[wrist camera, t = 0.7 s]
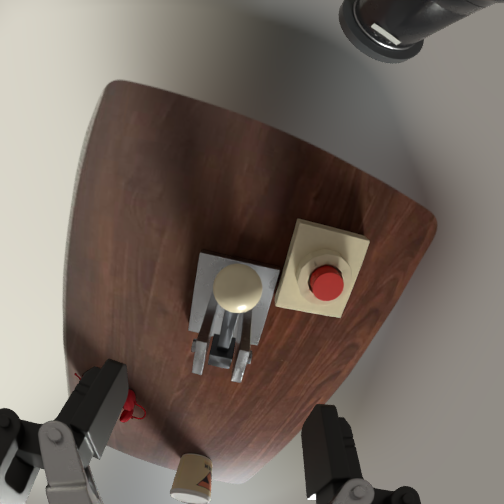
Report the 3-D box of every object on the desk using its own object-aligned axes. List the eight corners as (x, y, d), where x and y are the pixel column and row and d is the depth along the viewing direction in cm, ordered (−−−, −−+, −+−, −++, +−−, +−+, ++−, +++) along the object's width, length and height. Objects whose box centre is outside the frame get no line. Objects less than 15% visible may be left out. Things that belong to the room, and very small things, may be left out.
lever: (220, 248, 20) (210, 287, 17) (269, 259, 20) (264, 299, 17) (207, 339, 29) (201, 367, 27) (238, 346, 30) (233, 374, 27)
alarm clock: (71, 369, 40) (136, 419, 39) (90, 353, 46) (153, 398, 45) (72, 398, 44) (130, 442, 42) (89, 383, 50) (144, 422, 48)
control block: (297, 218, 34) (301, 226, 30) (364, 235, 34) (375, 245, 30) (274, 297, 37) (275, 313, 34) (336, 309, 38) (343, 325, 34)
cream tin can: (218, 468, 56) (214, 506, 45) (183, 466, 56) (176, 502, 45) (211, 453, 53) (205, 495, 41) (173, 449, 53) (163, 489, 42)
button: (315, 262, 32) (318, 269, 30) (343, 268, 32) (348, 276, 30) (306, 290, 33) (308, 298, 31) (333, 295, 33) (337, 303, 31)
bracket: (201, 249, 35) (173, 299, 23) (279, 266, 36) (288, 324, 24) (189, 325, 39) (166, 389, 27) (257, 340, 40) (256, 408, 28)
